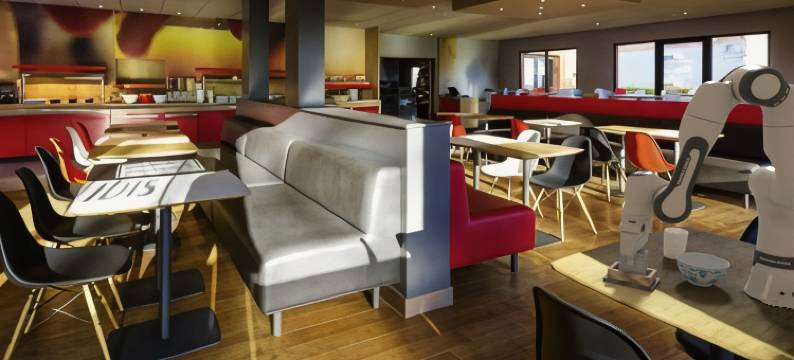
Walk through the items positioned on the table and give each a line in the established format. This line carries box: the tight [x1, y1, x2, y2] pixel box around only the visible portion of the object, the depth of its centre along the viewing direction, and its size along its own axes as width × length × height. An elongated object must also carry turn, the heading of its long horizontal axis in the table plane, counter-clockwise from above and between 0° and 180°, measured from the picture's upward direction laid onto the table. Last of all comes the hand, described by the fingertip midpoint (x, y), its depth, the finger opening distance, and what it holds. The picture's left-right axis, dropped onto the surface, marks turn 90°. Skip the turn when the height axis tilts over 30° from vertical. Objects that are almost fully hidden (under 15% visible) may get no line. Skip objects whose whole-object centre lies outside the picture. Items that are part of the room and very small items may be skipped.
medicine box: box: [618, 248, 649, 276], centre depth 171 cm, size 8×4×9 cm, turn 52°
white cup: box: [663, 227, 689, 260], centre depth 194 cm, size 8×8×10 cm
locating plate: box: [602, 261, 661, 293], centre depth 172 cm, size 15×11×4 cm
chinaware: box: [675, 252, 731, 288], centre depth 170 cm, size 15×15×8 cm
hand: (633, 262), depth 171 cm, fingers closed on medicine box, 4 cm apart
